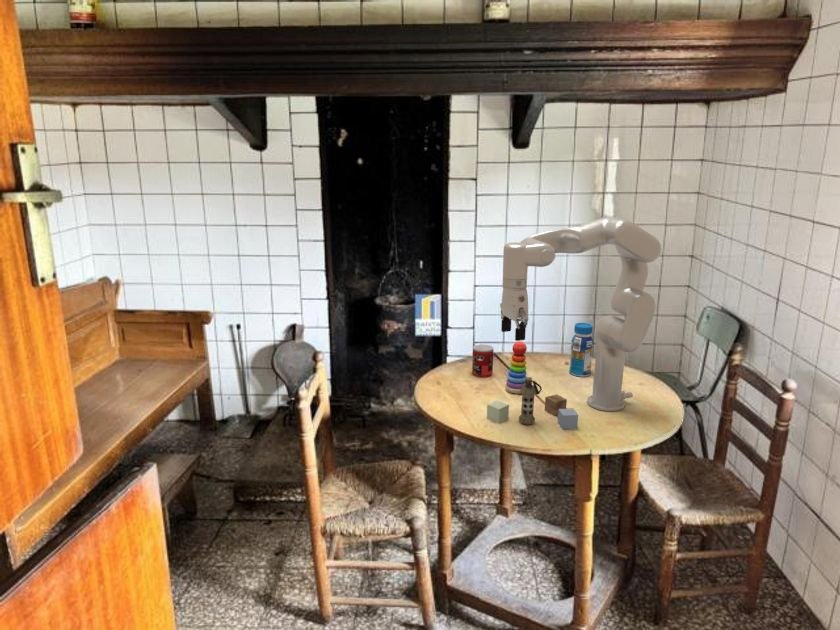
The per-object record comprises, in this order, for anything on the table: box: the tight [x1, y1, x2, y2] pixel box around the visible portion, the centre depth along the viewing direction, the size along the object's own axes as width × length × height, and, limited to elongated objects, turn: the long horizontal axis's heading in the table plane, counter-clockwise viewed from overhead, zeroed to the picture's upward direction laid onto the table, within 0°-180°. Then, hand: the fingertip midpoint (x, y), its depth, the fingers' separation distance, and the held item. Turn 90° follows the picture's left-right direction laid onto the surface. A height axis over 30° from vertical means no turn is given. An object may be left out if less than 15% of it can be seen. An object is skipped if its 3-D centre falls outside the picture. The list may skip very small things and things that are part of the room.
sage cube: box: [486, 400, 510, 424], centre depth 209 cm, size 5×5×5 cm
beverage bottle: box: [568, 322, 594, 378], centre depth 248 cm, size 8×8×20 cm
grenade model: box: [518, 376, 543, 426], centre depth 206 cm, size 6×7×15 cm
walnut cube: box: [544, 394, 568, 416], centre depth 215 cm, size 5×5×5 cm
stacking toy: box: [504, 341, 528, 395], centre depth 231 cm, size 8×8×19 cm
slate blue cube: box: [557, 408, 579, 430], centre depth 204 cm, size 5×5×5 cm
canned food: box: [471, 344, 494, 378], centre depth 248 cm, size 8×8×11 cm
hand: (512, 335), depth 202 cm, fingers open, 9 cm apart
